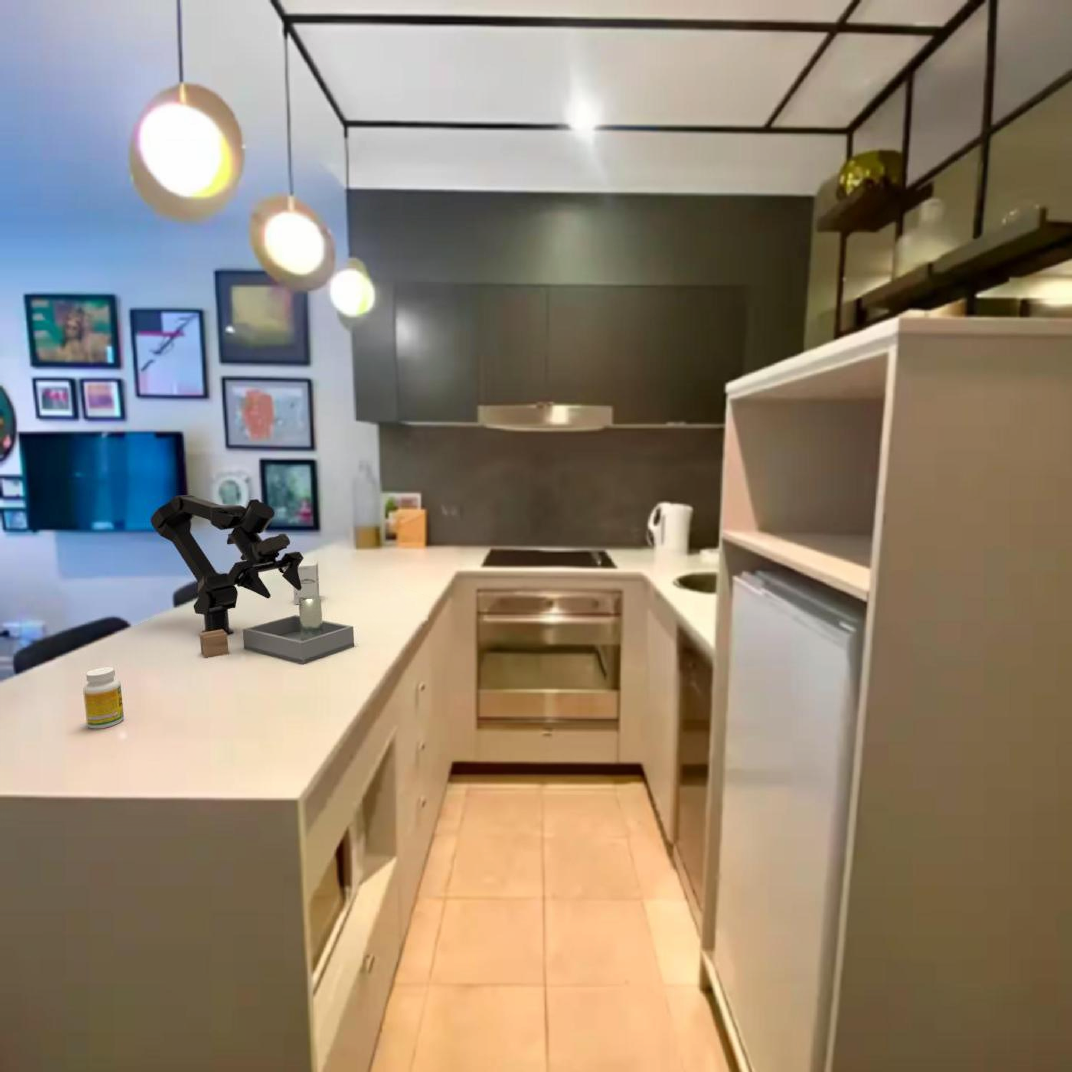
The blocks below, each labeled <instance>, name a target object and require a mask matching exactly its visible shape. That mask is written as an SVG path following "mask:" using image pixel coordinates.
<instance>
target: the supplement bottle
mask: <svg viewBox="0 0 1072 1072" xmlns="http://www.w3.org/2000/svg"><path fill="white" fill-rule="evenodd" d="M115 676H116V671H115V668H114V667H111V666H110V667H108V666H106V667H100V668H96V669H92V670H90V671H87V672H86V681H87V684H85V685H84V687H83V689H82V690H83V701H84V709H85V710H84V711H85V718H86V725H87V728H89V729H94V730H95V729H97V730H99V729H105V728H110V727H113V726H115V725H117V724H120V723H121V722H122V721H123V720H124V718H125V716H124V715H125V714H124V704H123V696H122V695H123V694H122V686H121V685H122V684H121V682H120V680H119V679H117V678H115Z"/></svg>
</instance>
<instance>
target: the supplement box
mask: <svg viewBox="0 0 1072 1072" xmlns="http://www.w3.org/2000/svg"><path fill="white" fill-rule="evenodd" d="M298 574H299V578H300V582H301V587H302V588H301V590H297V589H296V588H295V587H293V586H292V587H293V603H294V604H293V605H294V606H296V605H299V598H301V597H306V596H320V585H319V584H320V581H319V580H320V579H319V562H318V561H301V563H300V565H299V566H298Z"/></svg>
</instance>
